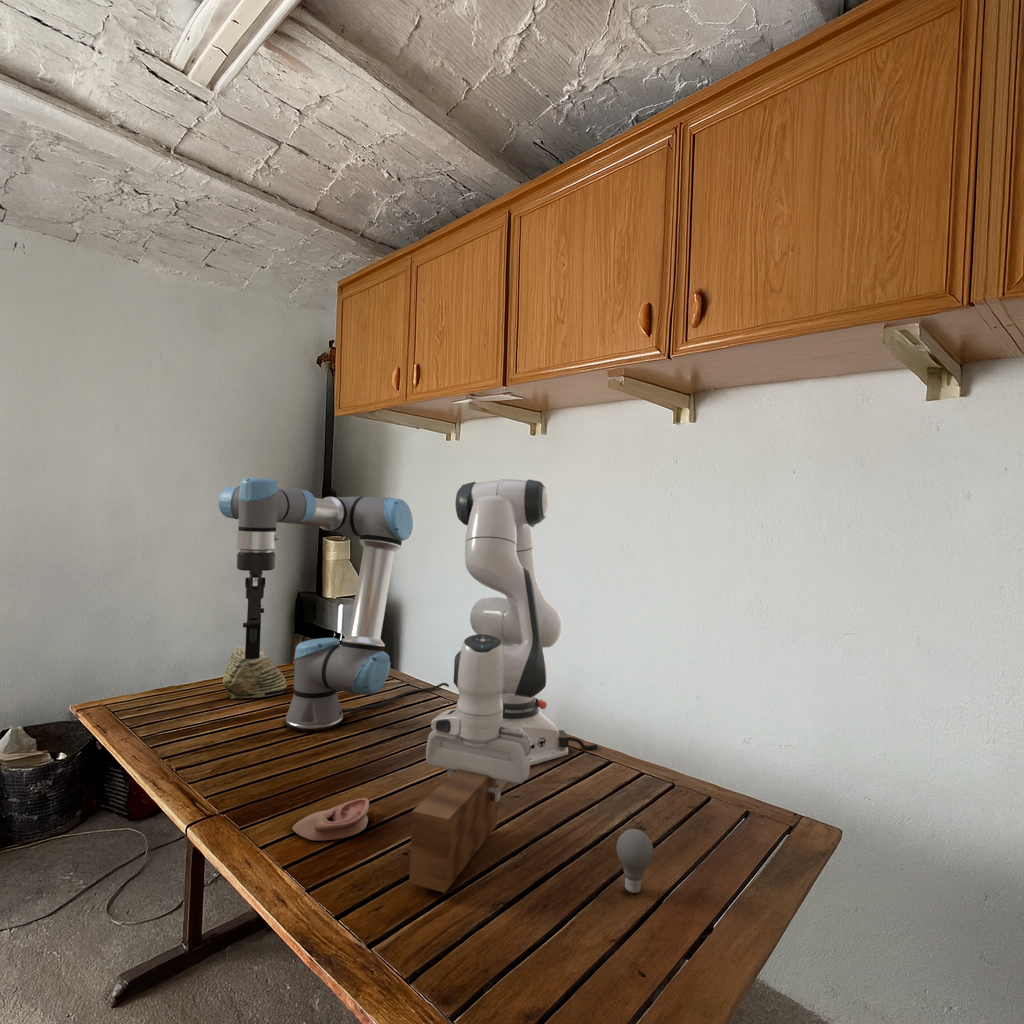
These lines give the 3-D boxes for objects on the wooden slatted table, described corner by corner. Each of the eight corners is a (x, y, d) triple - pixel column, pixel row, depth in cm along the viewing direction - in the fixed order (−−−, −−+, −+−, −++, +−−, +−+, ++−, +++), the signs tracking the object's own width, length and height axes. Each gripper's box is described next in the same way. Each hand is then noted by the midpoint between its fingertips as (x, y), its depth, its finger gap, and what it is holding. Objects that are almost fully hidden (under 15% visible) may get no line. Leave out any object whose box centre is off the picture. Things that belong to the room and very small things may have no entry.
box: (444, 893, 101) (448, 819, 100) (409, 883, 103) (412, 810, 102) (496, 826, 122) (499, 765, 122) (466, 818, 124) (468, 759, 124)
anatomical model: (284, 814, 117) (315, 787, 129) (283, 836, 118) (314, 807, 129) (350, 825, 115) (376, 796, 126) (349, 847, 115) (375, 816, 126)
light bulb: (610, 879, 108) (613, 822, 108) (644, 879, 109) (647, 822, 109) (619, 902, 102) (622, 840, 102) (655, 901, 103) (658, 840, 103)
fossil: (218, 695, 195) (220, 647, 195) (278, 685, 208) (279, 640, 207) (228, 703, 189) (230, 653, 188) (289, 692, 201) (290, 645, 201)
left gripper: (276, 556, 124) (272, 664, 124) (274, 546, 147) (271, 637, 148) (234, 556, 121) (230, 666, 122) (239, 545, 144) (236, 638, 145)
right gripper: (536, 727, 119) (533, 800, 119) (438, 709, 126) (435, 778, 126) (525, 738, 113) (522, 815, 113) (423, 719, 120) (420, 792, 120)
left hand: (252, 650), depth 135 cm, fingers open, 13 cm apart
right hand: (475, 795), depth 120 cm, fingers closed on box, 6 cm apart
